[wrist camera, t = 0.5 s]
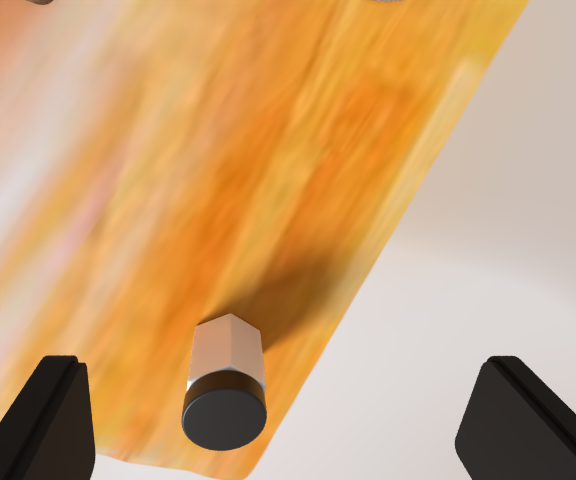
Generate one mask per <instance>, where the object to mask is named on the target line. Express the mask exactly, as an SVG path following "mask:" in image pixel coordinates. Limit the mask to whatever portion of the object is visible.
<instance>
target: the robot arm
mask: <svg viewBox="0 0 576 480" xmlns="http://www.w3.org/2000/svg"><path fill="white" fill-rule="evenodd" d="M374 1H382V2H393V1H401V0H374ZM455 449H456V452H457V455H458V457H459V458H460V460H461V462H462V463H463V465H464V467H465V468H466V470H467V472H468V473H469V475H470V477H471V478H472V480H576V414H575V413H574V412H573V411H572V410H571V409H570V408H569V407H568V406H567V405H566V404H565V403H564V402H563V401H562V400H561V399H560V398H559V397H558V396H557V395H556V394H555V393H554V392H553V391H552V390H551V389H550V388H549V387H548V386H547V385H546V384H545V383H544V382H543V381H542V380H541V379H540V378H539V377H538V376H537V375H535V373H534V372H533V371H532V370H531V369H530V368H528V367H527V366H526V365H525V364H524V363H523V362H522V361H521V360H520V359H519V358H517V357H515V356H492V357H490V358H489V359H488V360H487V362H485V363H483V365H482V367H481V369H480V372H479V375H478V377H477V380H476V383H475V386H474V389H473V391H472V394H471V397H470V400H469V403H468V405H467V408H466V411H465V413H464V416H463V419H462V422H461V424H460V427H459V430H458V433H457V436H456V438H455ZM94 464H95V443H94V433H93V423H92V413H91V403H90V393H89V384H88V374H87V366H86V363H78V359H77V357H76V356H45V357H43V359H42V360H41V361H40V363H39V364H38V366H37V367H36V369H35V370H34V372H33V373H32V375H31V376H30V378H29V379H28V381H27V382H26V384H25V385H24V387H23V388H22V390H21V391H20V393H19V395H18V396H17V398H16V399H15V401H14V402H13V404H12V405H11V407H10V408H9V410H8V411H7V413H6V414H5V416H4V417H3V419H2V420H1V422H0V480H90V478H91V475H92V472H93V468H94Z"/></svg>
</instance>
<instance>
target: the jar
mask: <svg viewBox="0 0 576 480" xmlns="http://www.w3.org/2000/svg"><path fill="white" fill-rule="evenodd" d="M265 388H266V378H265V369H264V360H263V352H262V343H261V334H260V330H258V329H256V328H255V327H253V326H251V325H250V324H248V323H246V322H245V321H243V320H242V319H240V318H238V317H237V316H235V315H233V314H232V313H229V314H226V315H224V316H221V317H219V318H216V319H213V320H211V321H208V322H205V323H203V324H200V325H197V326H196V327H195V332H194V339H193V346H192V353H191V361H190V368H189V375H188V382H187V391H186V395H185V399H184V405H183V412H182V428H183V431H184V433H185V434H186V436H187V437H188V438H189V439H190V440H191V441H192V442H193V443H195V444H196V445H198V446H200V447H202V448H205V449H209V450H216V451H226V450H232V449H237V448H240V447H242V446H245V445H247V444H248V443H250V442H251V441H253V440H254V439H255V438H256V437H257V436H258V435H259V434H260V433H261V432H262V430H263V428H264V426H265V424H266V418H267V411H266V404H265V395H264V393H265Z"/></svg>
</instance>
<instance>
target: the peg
mask: <svg viewBox="0 0 576 480" xmlns="http://www.w3.org/2000/svg"><path fill="white" fill-rule="evenodd" d="M27 1H30V2H33V3H36V4H40V5H45V4H49V3H51V2H52V1H53V0H27Z"/></svg>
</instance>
